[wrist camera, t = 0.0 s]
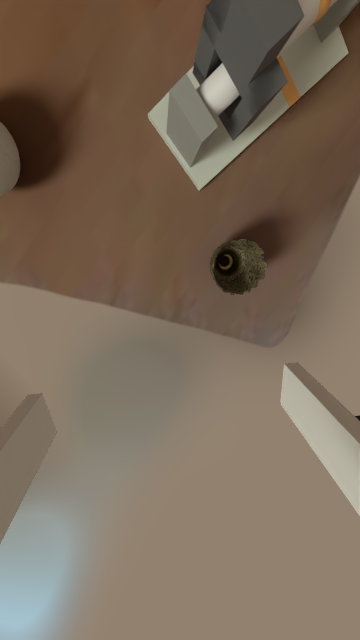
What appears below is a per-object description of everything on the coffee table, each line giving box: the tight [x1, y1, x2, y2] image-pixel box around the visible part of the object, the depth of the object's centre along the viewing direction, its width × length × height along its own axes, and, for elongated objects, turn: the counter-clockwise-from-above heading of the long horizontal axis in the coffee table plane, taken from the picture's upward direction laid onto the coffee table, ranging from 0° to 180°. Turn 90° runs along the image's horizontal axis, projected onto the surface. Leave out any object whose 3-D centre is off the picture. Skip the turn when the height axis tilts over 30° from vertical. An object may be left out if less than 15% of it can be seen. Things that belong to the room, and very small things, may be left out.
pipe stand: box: [148, 0, 360, 190], centre depth 25 cm, size 24×11×11 cm, turn 130°
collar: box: [192, 0, 304, 141], centre depth 21 cm, size 3×8×12 cm, turn 40°
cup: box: [210, 239, 267, 295], centre depth 34 cm, size 7×7×8 cm
